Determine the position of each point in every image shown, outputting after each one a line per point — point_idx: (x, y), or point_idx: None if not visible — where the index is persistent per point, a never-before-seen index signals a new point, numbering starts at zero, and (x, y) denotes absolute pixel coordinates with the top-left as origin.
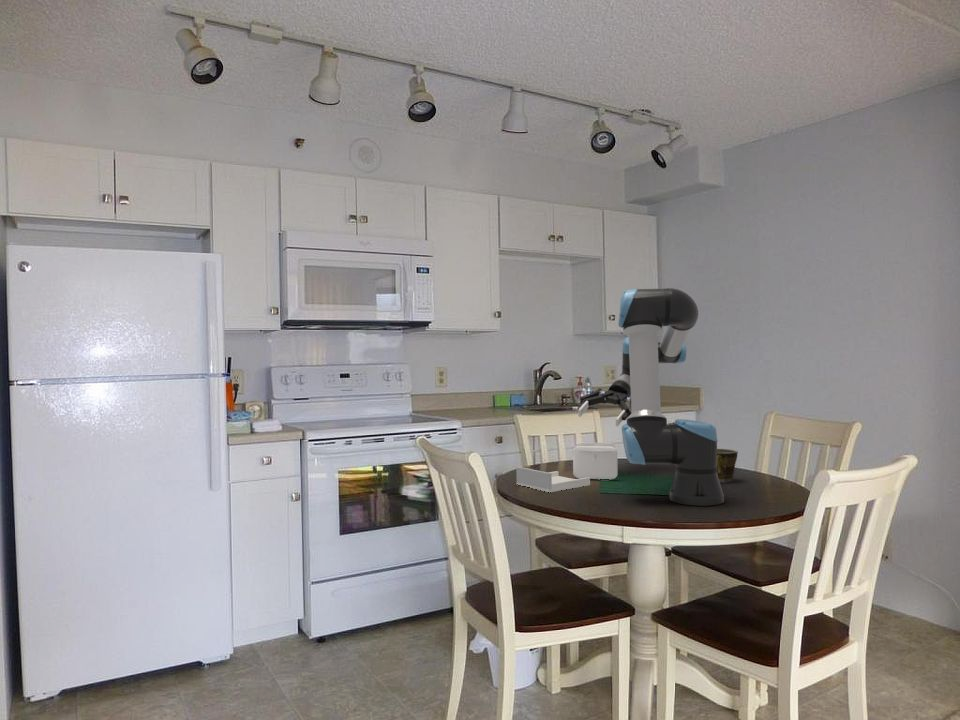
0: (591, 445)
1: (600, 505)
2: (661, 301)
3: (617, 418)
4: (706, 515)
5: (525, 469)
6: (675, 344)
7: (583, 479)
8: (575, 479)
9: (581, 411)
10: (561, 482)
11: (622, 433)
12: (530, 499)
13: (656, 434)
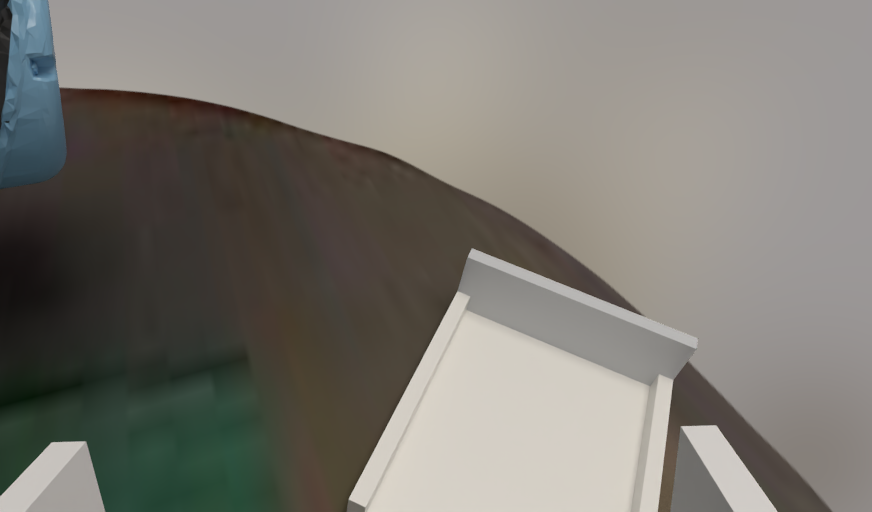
0: None
1: (210, 197)
2: None
3: (53, 458)
4: None
5: (628, 313)
6: None
7: (373, 452)
8: (407, 419)
9: (691, 496)
10: (438, 334)
11: (53, 45)
12: (462, 212)
13: None
